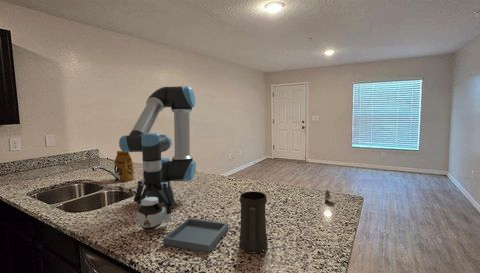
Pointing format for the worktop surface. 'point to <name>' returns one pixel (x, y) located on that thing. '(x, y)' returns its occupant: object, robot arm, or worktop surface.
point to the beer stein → (253, 222)
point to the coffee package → (124, 166)
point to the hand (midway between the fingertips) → (155, 219)
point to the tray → (196, 235)
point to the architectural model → (327, 196)
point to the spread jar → (150, 213)
